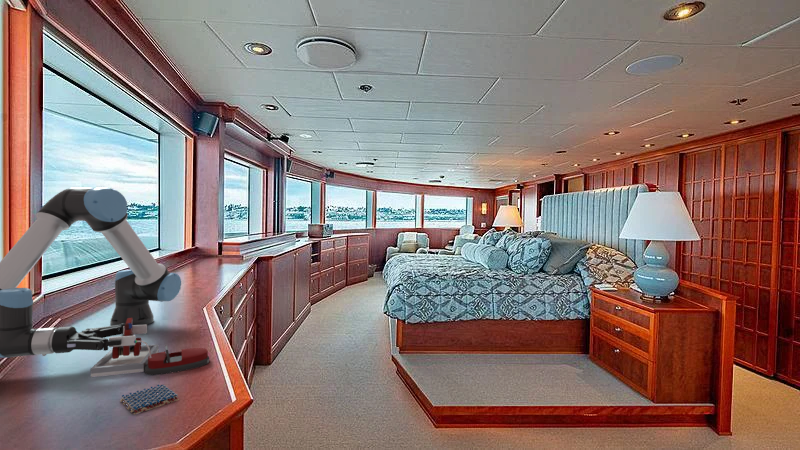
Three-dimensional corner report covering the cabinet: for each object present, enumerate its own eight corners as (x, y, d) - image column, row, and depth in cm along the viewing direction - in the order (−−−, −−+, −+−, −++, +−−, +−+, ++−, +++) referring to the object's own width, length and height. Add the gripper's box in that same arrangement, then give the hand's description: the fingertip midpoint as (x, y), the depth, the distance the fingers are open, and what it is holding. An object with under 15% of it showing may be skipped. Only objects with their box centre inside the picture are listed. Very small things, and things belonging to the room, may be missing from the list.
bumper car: (211, 366, 122) (211, 334, 122) (133, 380, 111) (133, 345, 111) (207, 356, 131) (207, 326, 130) (134, 369, 120) (134, 336, 119)
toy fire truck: (110, 362, 116) (111, 327, 116) (116, 350, 127) (116, 317, 127) (139, 359, 120) (139, 324, 119) (142, 346, 130) (142, 315, 130)
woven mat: (132, 418, 92) (132, 409, 92) (118, 403, 99) (118, 395, 99) (180, 402, 100) (180, 394, 100) (164, 389, 107) (164, 382, 107)
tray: (113, 355, 130) (113, 348, 130) (158, 351, 134) (158, 344, 134) (90, 377, 113) (90, 368, 113) (143, 371, 117) (143, 363, 117)
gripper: (74, 340, 129) (151, 335, 136) (34, 367, 106) (129, 359, 113) (74, 317, 128) (151, 313, 136) (34, 340, 106) (129, 333, 113)
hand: (141, 334), depth 124 cm, fingers closed on toy fire truck, 12 cm apart
